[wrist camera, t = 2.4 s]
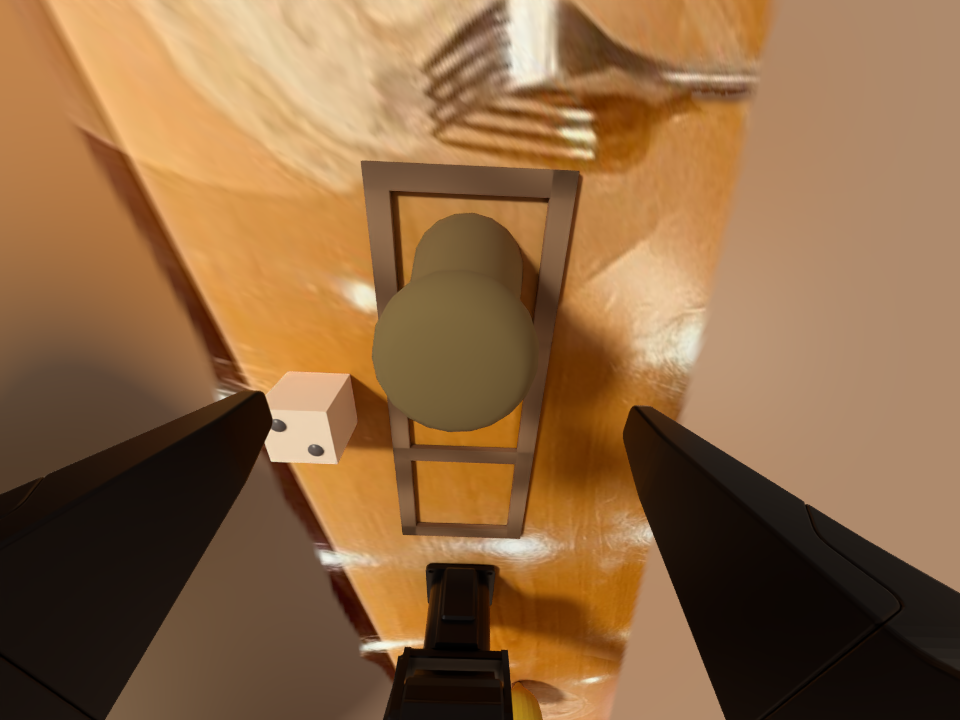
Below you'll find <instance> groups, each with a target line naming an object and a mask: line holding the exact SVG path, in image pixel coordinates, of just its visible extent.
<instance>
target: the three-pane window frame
mask: <svg viewBox="0 0 960 720" xmlns="http://www.w3.org/2000/svg"><path fill="white" fill-rule="evenodd" d="M361 167H362V176H363V185H364V194H365V203H366V212H367V221H368V230H369V239H370V248H371V257H372V265H373V274H374V283H375V292H376V301H377V310H378V319H379V318H380V316H381V315H382V313H383V311H384V309H385V307H386V306H387V304H388V302H389V301H390V300H391V298H392V297H393V296H394V295H395V294H396V293H398V292H399V288H398V275H397V263H396V250H395V237H394V224H393V211H392V198H391V191H410V192H431V193H453V194H474V195H496V196H518V197H539V198H549V200H548V208H547V216H546V224H545V232H544V240H543V248H542V255H541V263H540V271H539V279H538V287H537V295H536V303H535V310H534V318H533V325H534V328H535V331H536V334H537V337H538V340H539V359H538V369H537V373H536V376H535V378H534V381H533V383H532V385H531V388H530V390H529V393H528V394H527V396H526V397H525V398H524V399H523V405H522V413H521V420H520V428H519V436H518V444H517V448H493V447H466V446H439V445H412V444H411V443H410V430H409V418H408V417H407V416H406V415H405V414H403V413H402V412H401V411H400V410H399V409H398V408H397V407H395V406H394V405H393V404H392V402H391V401H390V399H389V398H388V396H387V399H388V408H389V417H390V426H391V435H392V444H393V453H394V462H395V470H396V479H397V488H398V497H399V506H400V515H401V524H402V533H403V535H423V536H452V537H482V538H511V539H520V536H521V530H522V524H523V517H524V511H525V505H526V499H527V493H528V486H529V480H530V474H531V468H532V462H533V455H534V449H535V443H536V437H537V431H538V424H539V418H540V412H541V406H542V400H543V394H544V387H545V381H546V375H547V369H548V363H549V356H550V350H551V344H552V338H553V332H554V325H555V319H556V313H557V307H558V301H559V294H560V288H561V282H562V276H563V270H564V263H565V257H566V251H567V245H568V239H569V233H570V226H571V220H572V214H573V208H574V202H575V195H576V189H577V183H578V177H579V171H571V170H549V169H528V168H507V167H486V166H465V165H444V164H423V163H402V162H381V161H361ZM412 460H414V461H442V462H469V463H496V464H515V468H514V475H513V483H512V491H511V499H510V507H509V515H508V523H507V525H479V524H449V523H420V522H417V520H416V507H415V495H414V482H413V469H412Z"/></svg>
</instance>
